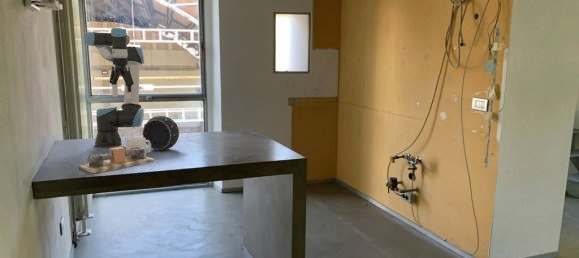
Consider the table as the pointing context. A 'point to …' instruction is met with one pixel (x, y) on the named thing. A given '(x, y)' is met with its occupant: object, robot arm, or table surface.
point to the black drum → (161, 132)
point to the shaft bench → (100, 165)
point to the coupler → (117, 155)
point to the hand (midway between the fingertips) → (121, 97)
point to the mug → (138, 144)
